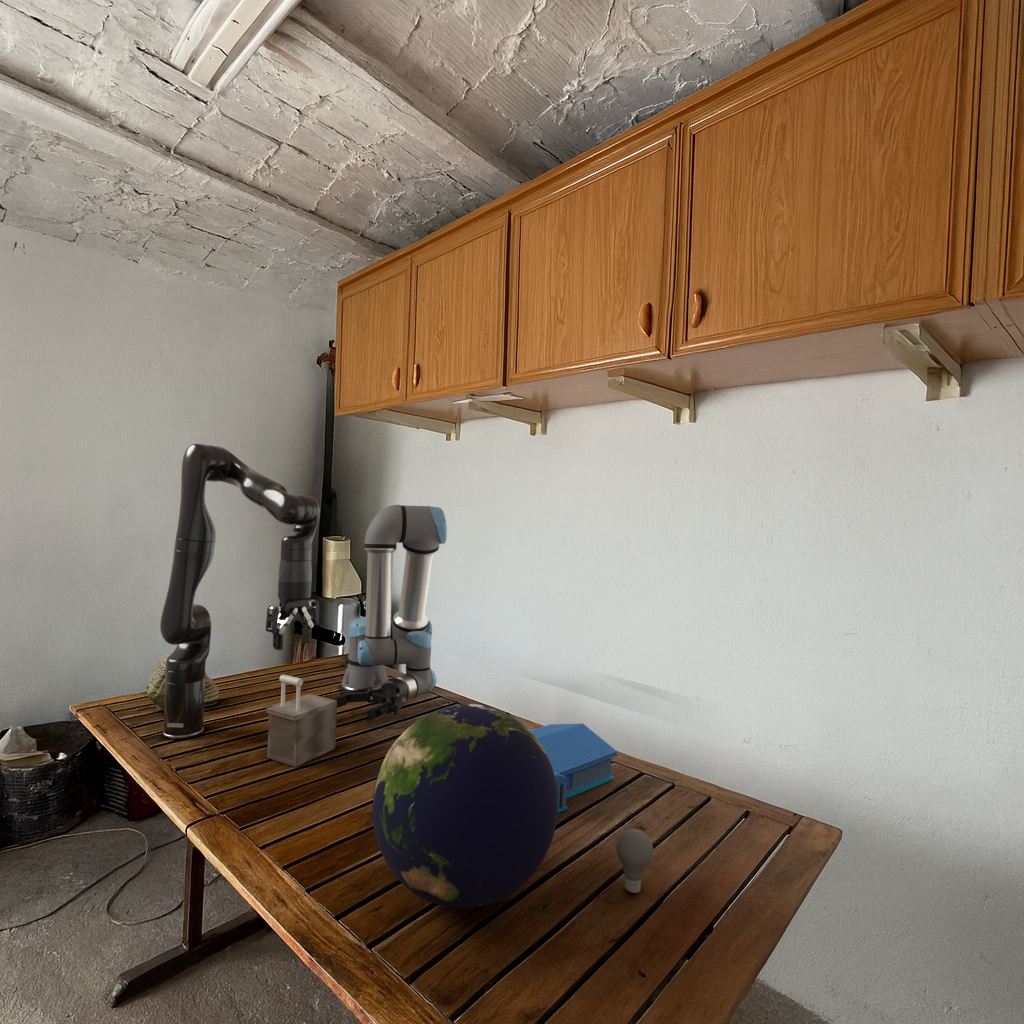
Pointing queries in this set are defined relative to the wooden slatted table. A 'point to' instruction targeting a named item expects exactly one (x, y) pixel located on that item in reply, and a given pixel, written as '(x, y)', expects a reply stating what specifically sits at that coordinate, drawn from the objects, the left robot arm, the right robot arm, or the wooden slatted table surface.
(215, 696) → the fossil
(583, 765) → the model building
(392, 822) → the globe
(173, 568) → the left robot arm
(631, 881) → the light bulb
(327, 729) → the chest
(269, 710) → the lid
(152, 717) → the wooden slatted table surface
